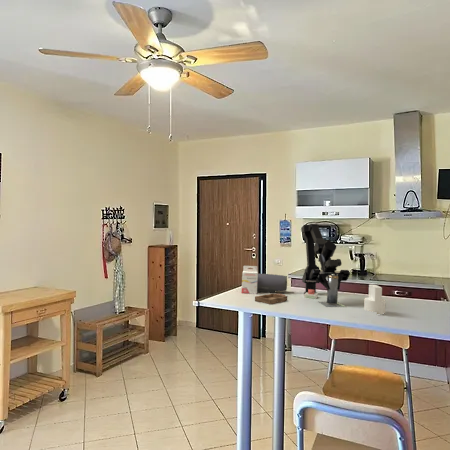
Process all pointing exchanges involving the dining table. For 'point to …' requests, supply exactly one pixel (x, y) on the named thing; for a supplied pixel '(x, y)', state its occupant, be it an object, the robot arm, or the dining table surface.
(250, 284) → the ink cartridge box
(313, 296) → the white square base
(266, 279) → the bluetooth speaker
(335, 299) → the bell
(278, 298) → the wooden tray
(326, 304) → the grey flat panel
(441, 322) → the dining table surface
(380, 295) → the base with upright slab
